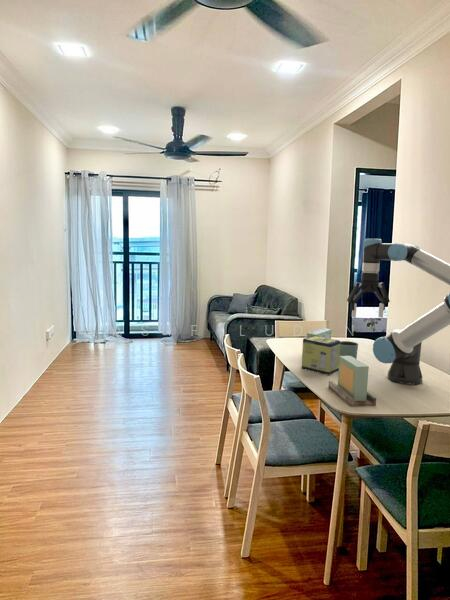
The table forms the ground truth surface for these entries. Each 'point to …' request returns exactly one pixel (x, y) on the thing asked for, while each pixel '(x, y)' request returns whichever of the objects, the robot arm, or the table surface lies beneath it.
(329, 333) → the snack box
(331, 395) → the table surface
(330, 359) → the protein box
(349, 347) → the green cup
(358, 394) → the cracker box
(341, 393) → the facing shelf
